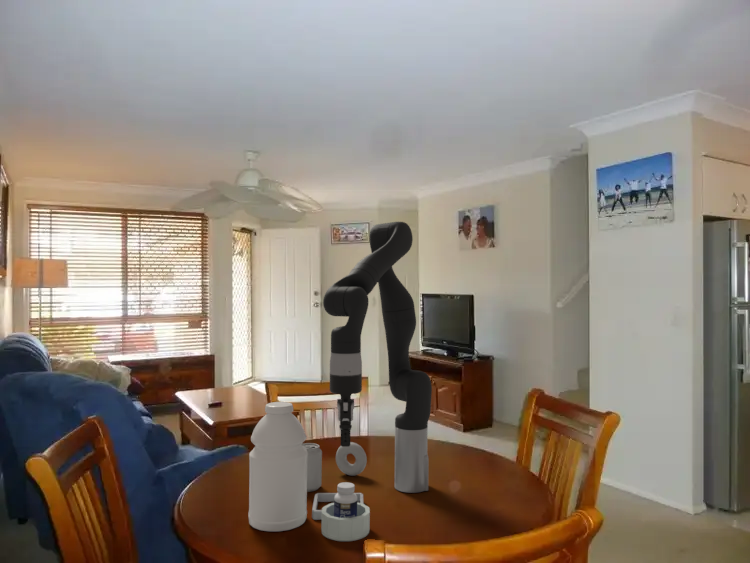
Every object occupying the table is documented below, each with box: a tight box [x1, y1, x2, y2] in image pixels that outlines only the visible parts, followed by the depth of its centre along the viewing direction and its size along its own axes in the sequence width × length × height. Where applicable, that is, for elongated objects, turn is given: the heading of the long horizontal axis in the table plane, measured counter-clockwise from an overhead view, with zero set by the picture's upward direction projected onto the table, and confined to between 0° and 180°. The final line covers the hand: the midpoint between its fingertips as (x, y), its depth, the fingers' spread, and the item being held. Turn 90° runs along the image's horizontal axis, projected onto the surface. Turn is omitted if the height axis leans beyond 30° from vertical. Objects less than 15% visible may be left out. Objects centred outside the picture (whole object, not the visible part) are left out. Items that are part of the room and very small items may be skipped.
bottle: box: [247, 401, 308, 532], centre depth 137 cm, size 14×14×28 cm
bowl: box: [320, 502, 371, 542], centre depth 132 cm, size 11×11×5 cm
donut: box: [335, 441, 368, 477], centre depth 172 cm, size 10×4×10 cm, turn 68°
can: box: [302, 442, 323, 493], centre depth 160 cm, size 8×8×12 cm
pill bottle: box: [333, 481, 357, 518], centre depth 132 cm, size 5×5×10 cm
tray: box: [311, 492, 364, 521], centre depth 144 cm, size 13×13×2 cm
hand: (345, 441), depth 133 cm, fingers open, 8 cm apart
